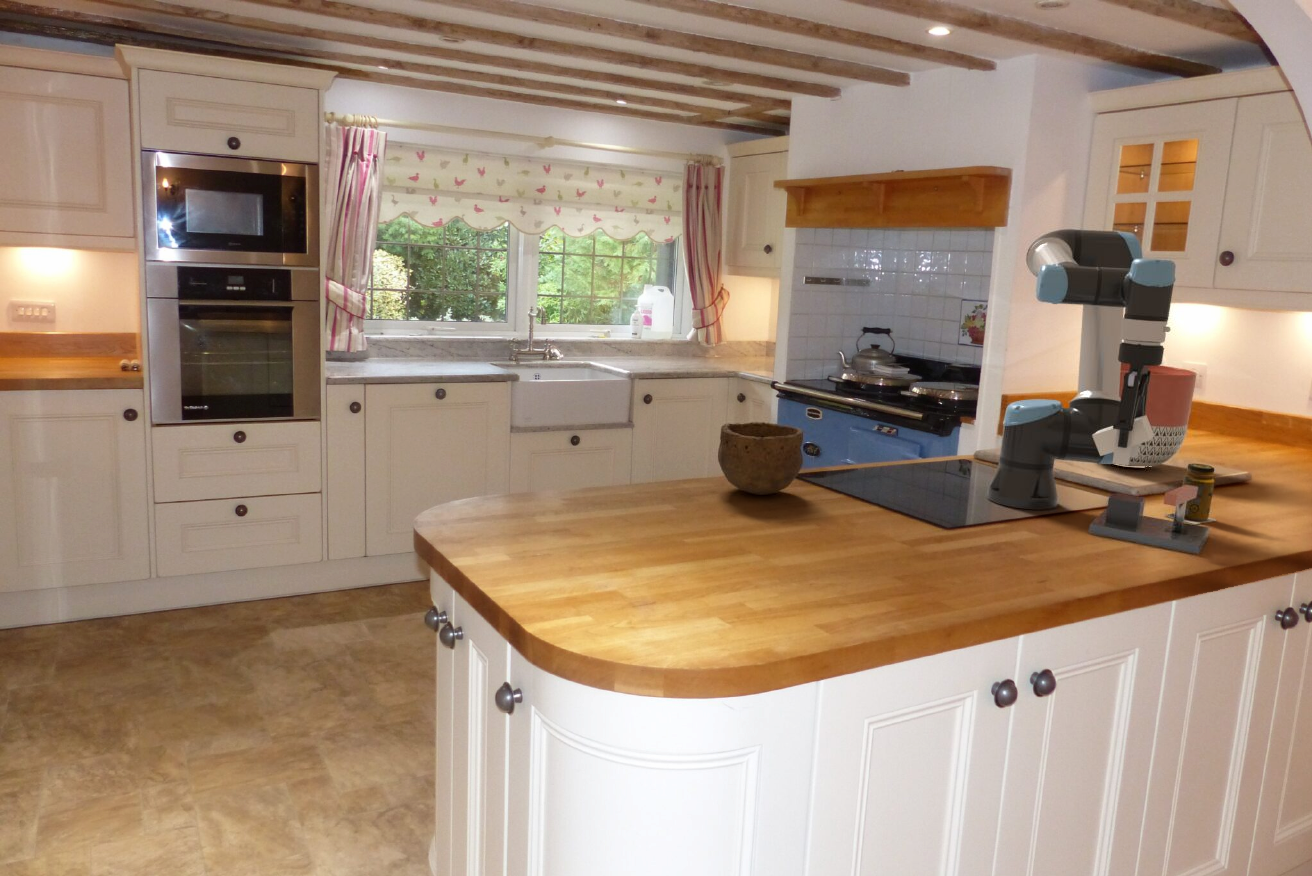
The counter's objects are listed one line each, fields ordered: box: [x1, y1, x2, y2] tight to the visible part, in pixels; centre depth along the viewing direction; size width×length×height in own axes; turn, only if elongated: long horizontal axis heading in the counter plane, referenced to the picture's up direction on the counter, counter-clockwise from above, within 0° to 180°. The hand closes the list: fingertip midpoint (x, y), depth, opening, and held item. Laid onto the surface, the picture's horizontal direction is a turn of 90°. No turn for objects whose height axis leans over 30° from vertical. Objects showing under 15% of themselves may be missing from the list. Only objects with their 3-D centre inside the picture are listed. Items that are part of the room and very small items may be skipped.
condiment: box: [1164, 462, 1216, 525], centre depth 221 cm, size 7×8×12 cm
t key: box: [1163, 485, 1198, 531], centre depth 202 cm, size 12×2×8 cm, turn 135°
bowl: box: [717, 421, 804, 496], centre depth 224 cm, size 19×19×15 cm
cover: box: [1092, 415, 1154, 456], centre depth 192 cm, size 9×9×4 cm
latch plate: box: [1088, 492, 1210, 556], centre depth 206 cm, size 20×16×7 cm
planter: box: [1119, 363, 1198, 467], centre depth 273 cm, size 27×27×27 cm
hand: (1125, 460), depth 192 cm, fingers closed on cover, 9 cm apart
